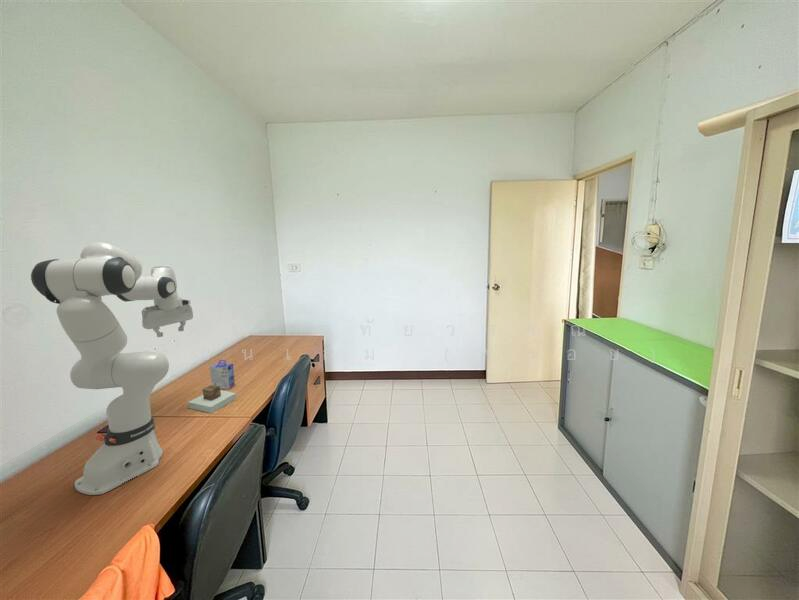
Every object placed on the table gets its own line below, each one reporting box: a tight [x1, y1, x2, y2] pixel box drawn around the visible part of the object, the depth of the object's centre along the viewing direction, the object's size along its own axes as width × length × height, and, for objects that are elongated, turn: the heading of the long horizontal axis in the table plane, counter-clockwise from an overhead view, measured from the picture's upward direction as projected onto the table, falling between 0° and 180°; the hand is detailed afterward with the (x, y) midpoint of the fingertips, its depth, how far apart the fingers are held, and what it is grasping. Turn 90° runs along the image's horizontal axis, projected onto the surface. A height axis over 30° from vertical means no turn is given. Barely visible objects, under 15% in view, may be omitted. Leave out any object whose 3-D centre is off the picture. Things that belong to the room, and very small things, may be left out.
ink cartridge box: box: [209, 359, 236, 390], centre depth 165 cm, size 10×6×14 cm, turn 89°
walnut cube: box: [202, 384, 221, 401], centre depth 148 cm, size 5×5×5 cm
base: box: [187, 389, 237, 414], centre depth 149 cm, size 14×14×3 cm
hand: (171, 333), depth 140 cm, fingers open, 8 cm apart
